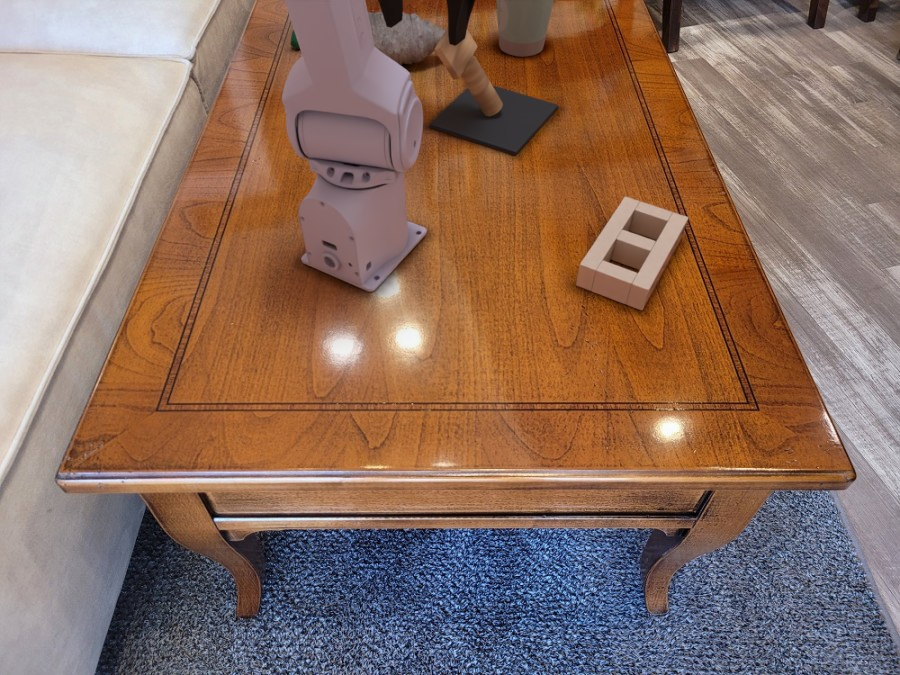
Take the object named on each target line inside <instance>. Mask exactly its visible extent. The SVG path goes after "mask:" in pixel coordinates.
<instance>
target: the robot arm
mask: <svg viewBox="0 0 900 675" xmlns="http://www.w3.org/2000/svg"><path fill="white" fill-rule="evenodd" d="M476 1H477V0H446V6H447V8H446V9H447V27H448V37H449V43H450V44H451V45H454V46H456V45H458V44H459V43H460V42H461V41H462V40H464V39H465V36H466V31H467V29H468V27H469V22H470V19H471V15H472V12H473V9H474V6H475V3H476ZM283 2H284V4H285V6H286V10H287V13H288V16H289V19H290V22H291V25H292V29H293V30H294V31H295V35H296V38H297V41H298V44H299V47H300V53H301V56H300V57H299V58H298V59H297V60H296V61H295V62H294V64H293V65H292V67H290V70H289V72H288V74H287V77H286V80H285V83H284V86H283V91H282V95H281V102H282V104H283V107H284V112H285V123H286V124H285V125H286V134H287V138H288V141H289V144H290V146H291V147H292V149H293V151H294V153H295V155H296V156H298V157H299V158H301V159H306V160H307V161H308V165H309V170H310V172H312V173H316V176H315V179H314V182H313V184H312V186H311V189H310V190H309V191H308V193H307V194H306V196H305V197H304V198H303V199H302V201H301V202H300V203H299V205H298V211H297V214H298V219H299V220H298V221H299V225H300V229H301V233H302V238H303V239H302V240H303V242H304V243H303V244H304V248H305V253H304V254H302V256H301V258H300V259H301V260H300V261H301V263H302V264H304V265H307V266H309V267H312V268H314V269H316V270H318V271H321V272H322V273H325V274H327V275H329V276H332V277H334V278H336V279H338V280H341V281H343V282H346V283H348V284H350V285H352V286H355V287H357V288H359V289H361V290H363V291H366V292H374V291H375V290H376V289H378V287H379V286H380V285H381V284H382V283H383V282H384V281H385V279H387V278H388V277H389V275H390V274H391V273H392V272H393V271H394V270H395V269H396V268H397V267H398V266H399V265H400V263H401V262H402V261H403V260H404V259H405V258H406V257H407V256H408V255H409V254H410V253H411V251H412V250H413V249H414V248H416V246H417V245H418V244H419V243H420V242H421V240H422V239H423V238H425V236H426V235H427V234H428V233H427V232H428V230H427V228H426V226H425V227H424V226H423V225H420V224H416V223H414V222H411V221H409V220H408V210H407V192H406V177H405V176H406V174H405V173H407V172H408V171H409V169H411V168H412V167H413V166H414V165H415V163H416V162H417V160H418V156H419V154H420V150H421V145H422V141H423V140H422V139H423V132H424V130H423V129H424V110H423V105H422V101H421V100H420V98H419V97H418V94H416V91H415V87H414V86H415V85H414V83H413V81H412V76H411V72H409V71H408V70H407V69H406V68H405V67H404V66H402V65H399V64H398V63H397V62H395V61H394V60H392V59H391V58H389V57H388V56H386V55H385V54H383V53H382V52H381V51H379V50H378V49H377V48H376V47H375V45H374V40H373V35H372V30H371V26H370V21H369V16H368V12H369V11H368V6H367V1H366V0H284V1H283ZM377 2H378V4H379V7H380V10H381V12H382V13H383V16H384V20H385V23H386V26H387V27H390V28H392V27H393V26H395V25H396V24H398V23H399V22H401V21H402V16H403V12H404V0H377Z"/></svg>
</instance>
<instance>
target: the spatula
mask: <svg viewBox="0 0 900 675" xmlns="http://www.w3.org/2000/svg"><path fill="white" fill-rule="evenodd" d="M477 48H479V46H478V44H477V43H476V41H475V39H474V37H473V36H472V34H471V33H470V31H469V29H468V28H467V31H466V36H465V39H464V40H462V41H461V42H460V43H459V44H458V45H456V46H454V45H451V44H450V43H449V37H448V26H447V27H446V31H445V32H444V34H443V36H442V37H441V39H440V41H439V42H438V44H437V46H436V47H435V49H434V50H435V51H434V52H435V54H436V55H437V56H438V58H439V59H440V61H441V62H442V64H443V66H444V67H445V69H446V70H447V73H449V75H450V76H451V78H452V80H458V79H461V80H462V81H463V83H464V84H465V86H466V89H467V88H468V89H469V91H470V92H471V94H472V96H473V97H474V99H475V100H476V102H477V104H478V105H479V107H480V108H481V110H482V111H483V113H484V115H485V116H493V115H495V114H496V113H498V112H499V111H500V110H501V108H502V106H503V103H502V101H501V99H500V98H499V96H498V94H497V92H496V91H495V89H494V87H493V86H494V85H493V84H492V82H491V81H490V79H489V78H488V75H487V73H486V72H485V70H484V69H483V67H482V66H481V64H480V62H479V60H478V59H477V57H476V56H475V52H476V51H477V50H478V49H477Z"/></svg>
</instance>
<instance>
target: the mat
mask: <svg viewBox="0 0 900 675" xmlns="http://www.w3.org/2000/svg"><path fill="white" fill-rule="evenodd" d="M492 86H493V87H494V89H495V91H496V92H497V94H498V96H499V98H500V99H501V101H502V103H503V106H502V108H501V110H500V111H499V112H498V113H496V114H495V115H493V116H485V115H484V113H483V111H482V110H481V108H480V107H479V105H478V104H477V102H476V100H475V99H474V97H473V96H472V94H471V92H470V91H469V89H468V88H467V87H466V89H465V90H463V92H462V93H461V94H460V95H459V96H457V97H456V98H455V99H454V100H453V101H452V102H450V104H448V106H446V107H445V108H444V109H443V110H442V111H441V112H440V113H439V114H438V115H436V117H434V118H433V119H432V120H431V121H430V122H429V123H428V128H429V129H433V130H435V131H438V132H442V133H444V134H448V135H451V136H453V137H457V138H460V139H463V140H466V141H469V142H473V143H475V144H478V145H481V146H484V147H487V148H490V149H493V150H497V151H499V152H503V153H506V154H508V155H512V156H517V155H519V153H520V152H521V150H523V148H525V146H526V145H527V144H528V143H529V142H530V141H531V140H532V138H533V137H534V136H535V135H536V134H537V133H538V132H539V130H541V128H542V127H543V126H544V125H545V124H546V123H547V122H548V120H549V119H551V117H552V116H553V115H554V114H555V112H556V111H557V110H558V109H559V104H556V103H553V102H550V101H546V100H544V99H540V98H537V97H533V96H529V95H526V94H523V93H519V92H515V91H512V90H509V89H505V88H502V87H499V86H495V85H492Z"/></svg>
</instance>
